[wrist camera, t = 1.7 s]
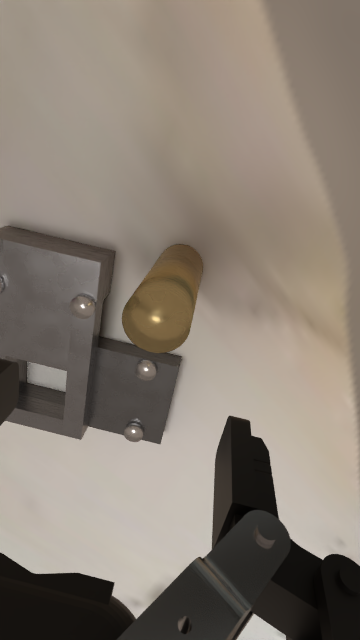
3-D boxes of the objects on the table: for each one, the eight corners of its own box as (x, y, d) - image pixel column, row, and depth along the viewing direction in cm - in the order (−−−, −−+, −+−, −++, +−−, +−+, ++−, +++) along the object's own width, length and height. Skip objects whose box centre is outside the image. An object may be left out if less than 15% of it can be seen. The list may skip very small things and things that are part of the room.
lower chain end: (9, 392, 39) (-5, 407, 37) (8, 314, 35) (-7, 325, 32) (163, 431, 39) (159, 448, 36) (181, 356, 34) (178, 370, 32)
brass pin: (155, 282, 32) (117, 343, 21) (162, 239, 30) (127, 282, 19) (197, 292, 31) (182, 359, 21) (207, 250, 30) (197, 299, 19)
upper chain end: (9, 392, 39) (-17, 420, 35) (7, 225, 31) (-26, 235, 27) (94, 414, 39) (78, 443, 35) (115, 251, 31) (98, 264, 27)
